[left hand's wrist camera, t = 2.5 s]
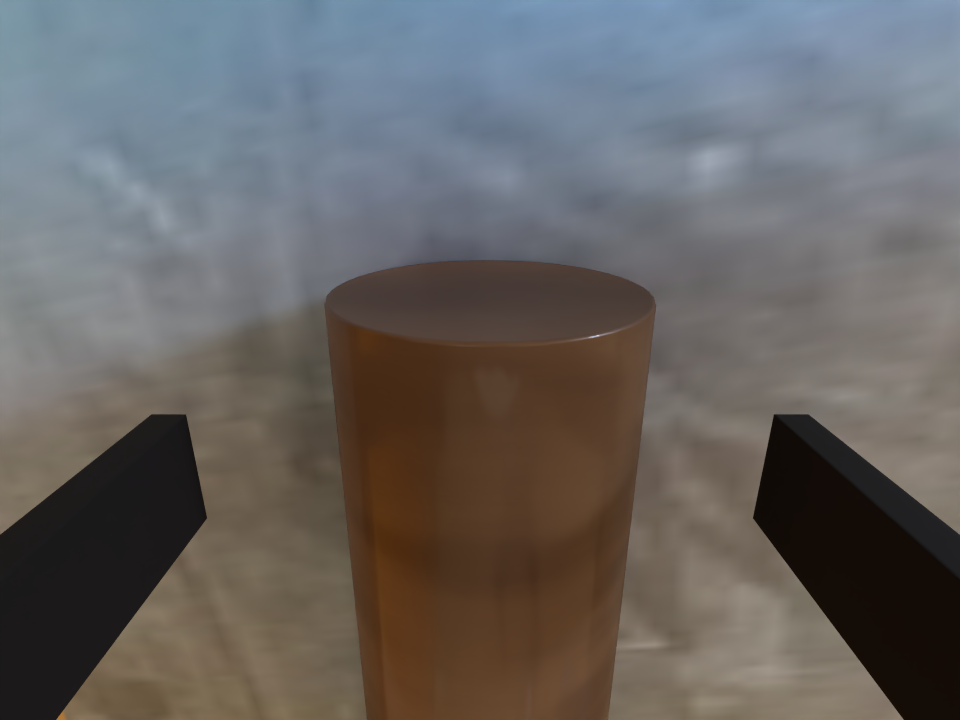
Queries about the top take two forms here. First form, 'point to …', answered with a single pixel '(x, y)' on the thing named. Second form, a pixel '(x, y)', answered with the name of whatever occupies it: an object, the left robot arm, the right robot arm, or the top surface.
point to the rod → (489, 482)
